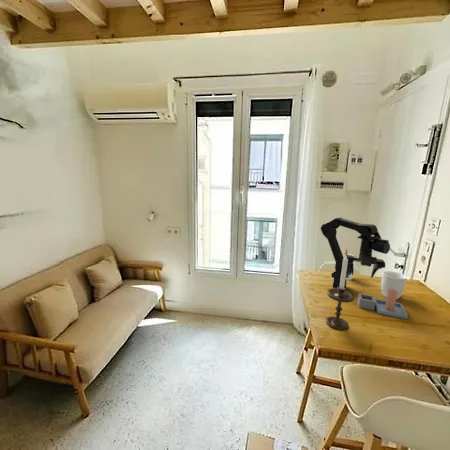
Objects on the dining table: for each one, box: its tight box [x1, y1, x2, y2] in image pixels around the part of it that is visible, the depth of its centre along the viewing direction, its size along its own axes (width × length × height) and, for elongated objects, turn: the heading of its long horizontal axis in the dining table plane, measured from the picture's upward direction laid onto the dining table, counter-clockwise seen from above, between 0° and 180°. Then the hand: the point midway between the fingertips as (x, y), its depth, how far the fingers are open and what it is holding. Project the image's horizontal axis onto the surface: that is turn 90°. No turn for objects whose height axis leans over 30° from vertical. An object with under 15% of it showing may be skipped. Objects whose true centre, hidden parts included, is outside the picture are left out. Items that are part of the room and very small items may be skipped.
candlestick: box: [325, 248, 356, 331], centre depth 114 cm, size 11×11×35 cm
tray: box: [374, 298, 409, 320], centre depth 130 cm, size 12×12×2 cm
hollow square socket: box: [357, 293, 376, 311], centre depth 133 cm, size 7×7×5 cm
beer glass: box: [346, 253, 358, 281], centre depth 168 cm, size 7×7×15 cm
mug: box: [380, 270, 407, 300], centre depth 145 cm, size 15×11×13 cm
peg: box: [385, 289, 397, 312], centre depth 129 cm, size 3×3×10 cm
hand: (361, 276), depth 142 cm, fingers open, 9 cm apart
